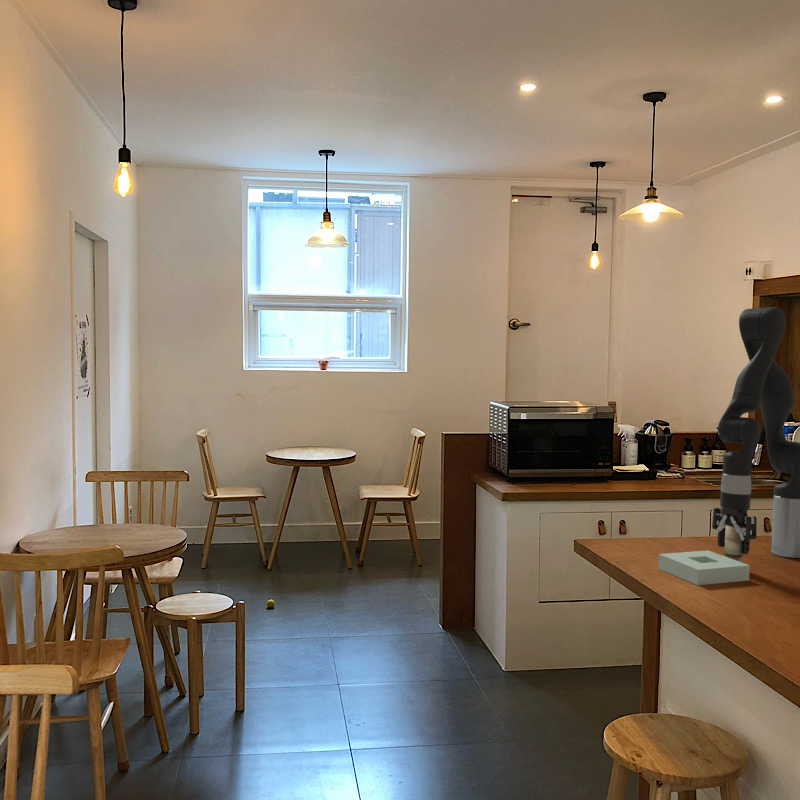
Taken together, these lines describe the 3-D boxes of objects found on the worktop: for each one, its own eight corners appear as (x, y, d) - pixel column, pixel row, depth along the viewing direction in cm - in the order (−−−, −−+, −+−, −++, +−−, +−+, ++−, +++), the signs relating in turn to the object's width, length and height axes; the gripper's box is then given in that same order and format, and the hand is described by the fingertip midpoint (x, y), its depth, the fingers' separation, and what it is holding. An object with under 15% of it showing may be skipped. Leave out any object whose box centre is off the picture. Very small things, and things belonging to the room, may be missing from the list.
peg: (733, 566, 223) (735, 523, 222) (746, 571, 219) (748, 527, 218) (719, 567, 222) (721, 524, 221) (731, 572, 217) (733, 528, 216)
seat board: (707, 564, 225) (707, 550, 224) (749, 580, 209) (749, 565, 209) (658, 568, 220) (658, 554, 219) (697, 585, 204) (698, 569, 204)
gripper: (766, 494, 213) (763, 555, 214) (728, 486, 227) (725, 543, 228) (743, 495, 211) (740, 557, 212) (706, 486, 224) (703, 544, 225)
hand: (732, 550), depth 220 cm, fingers open, 8 cm apart
